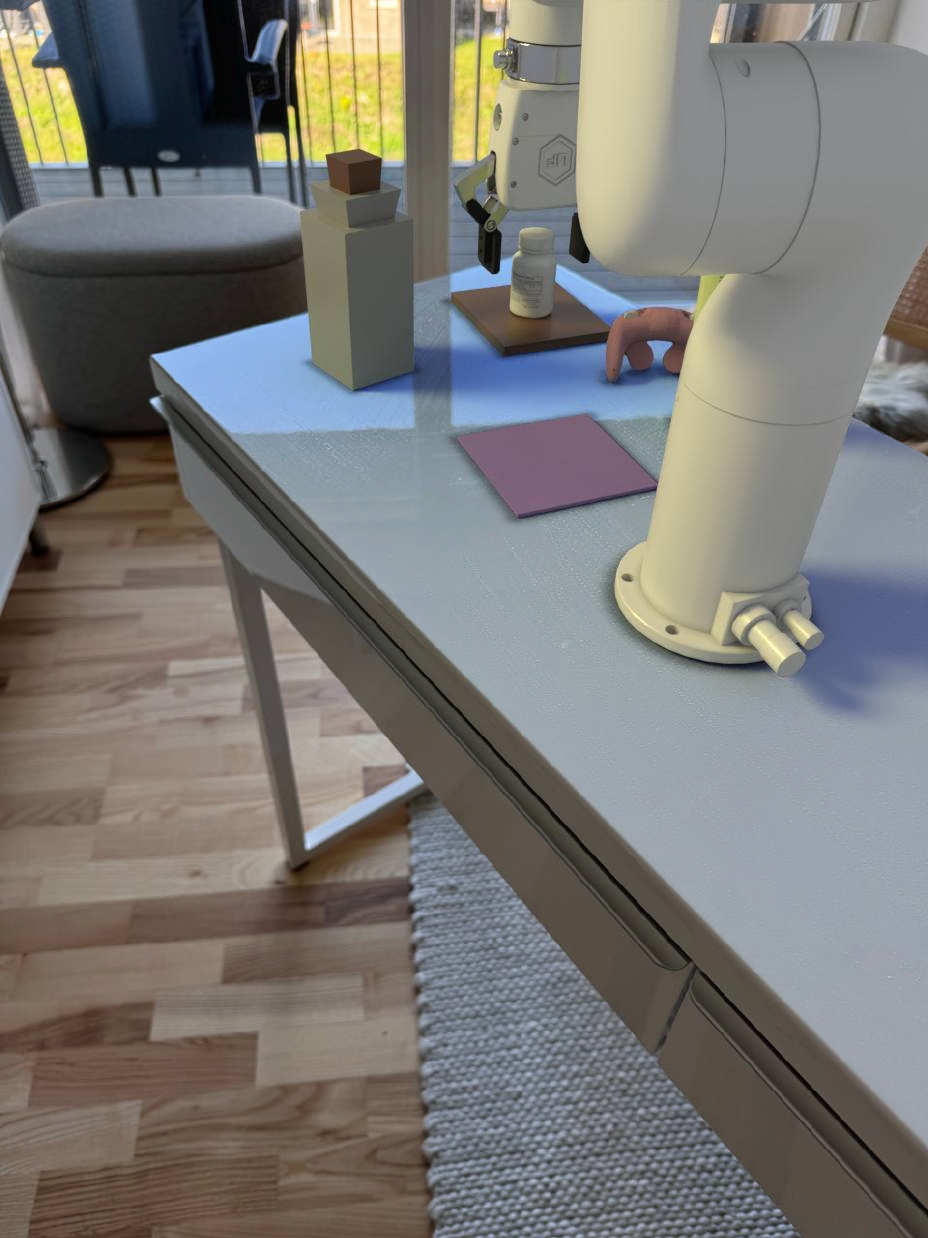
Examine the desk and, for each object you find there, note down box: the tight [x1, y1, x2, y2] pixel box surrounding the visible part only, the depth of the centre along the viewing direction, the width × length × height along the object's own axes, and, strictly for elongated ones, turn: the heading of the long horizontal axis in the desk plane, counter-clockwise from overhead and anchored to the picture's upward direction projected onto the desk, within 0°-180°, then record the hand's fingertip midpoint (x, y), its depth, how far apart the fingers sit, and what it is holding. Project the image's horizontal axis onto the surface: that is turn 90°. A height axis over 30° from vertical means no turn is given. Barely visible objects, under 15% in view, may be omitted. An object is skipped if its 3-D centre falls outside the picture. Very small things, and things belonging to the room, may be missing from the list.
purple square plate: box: [456, 413, 658, 519], centre depth 73 cm, size 12×12×1 cm
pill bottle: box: [510, 226, 558, 318], centre depth 91 cm, size 4×4×8 cm
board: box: [450, 281, 612, 357], centre depth 94 cm, size 14×12×1 cm
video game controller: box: [605, 306, 695, 383], centre depth 84 cm, size 10×5×7 cm, turn 84°
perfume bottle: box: [299, 148, 415, 392], centre depth 79 cm, size 7×7×18 cm
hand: (534, 264), depth 90 cm, fingers open, 9 cm apart
